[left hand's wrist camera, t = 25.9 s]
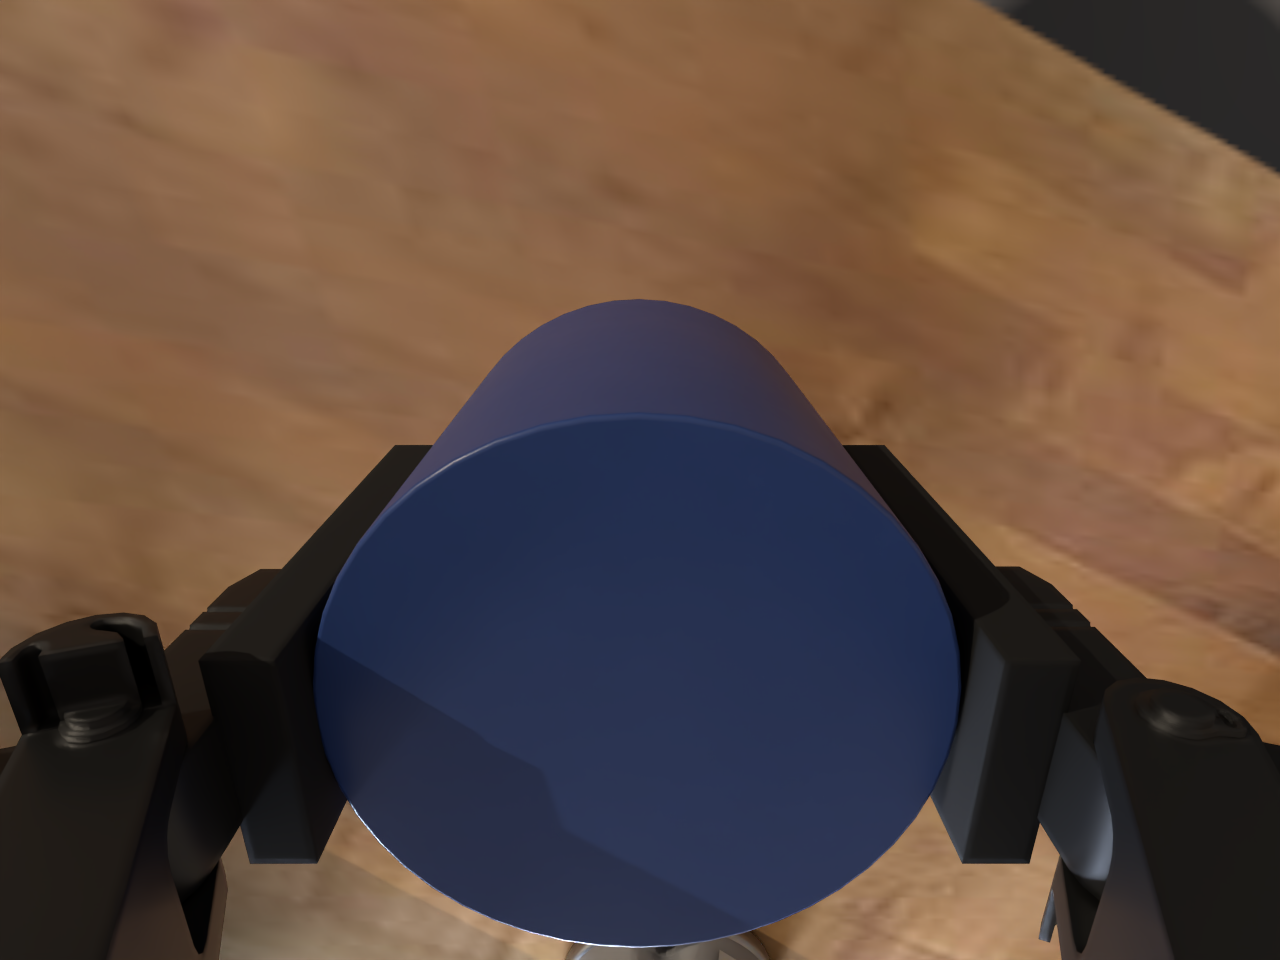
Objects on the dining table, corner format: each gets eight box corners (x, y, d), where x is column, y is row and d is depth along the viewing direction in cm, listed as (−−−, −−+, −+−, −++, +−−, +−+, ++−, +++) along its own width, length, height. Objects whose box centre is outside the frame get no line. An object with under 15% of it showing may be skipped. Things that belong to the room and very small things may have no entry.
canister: (883, 387, 15) (1098, 570, 8) (724, 675, 17) (781, 1007, 10) (530, 234, 14) (418, 292, 7) (414, 565, 16) (247, 853, 9)
